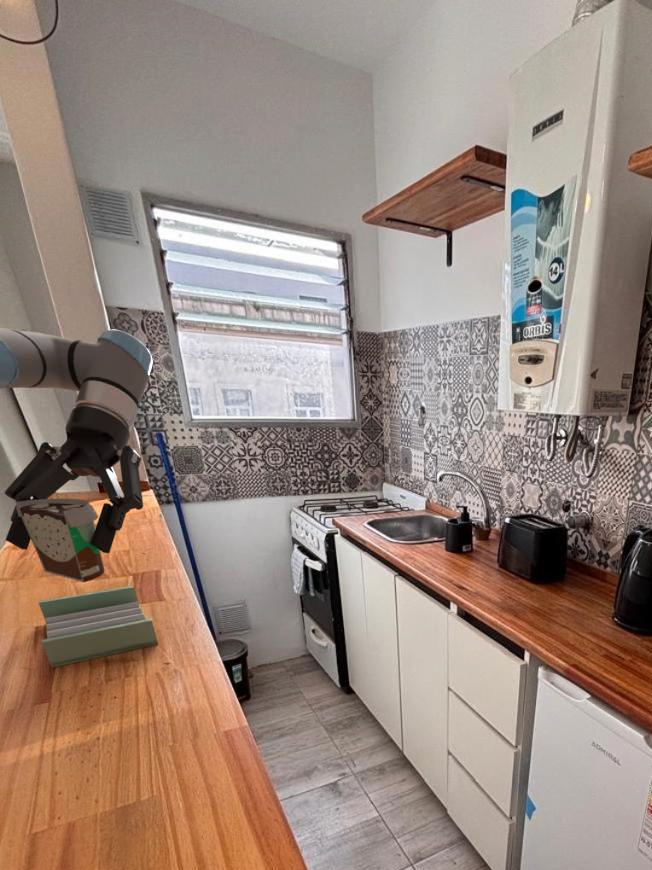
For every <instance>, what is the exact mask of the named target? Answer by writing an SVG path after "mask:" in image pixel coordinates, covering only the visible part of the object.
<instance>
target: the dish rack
mask: <svg viewBox="0 0 652 870" xmlns="http://www.w3.org/2000/svg"><path fill="white" fill-rule="evenodd" d="M138 598H139V597H138V595H137V591H136V588H135V586H134V585H129V586H122V587H115V588H111V589H104V590H98V591H92V592H86V593H85V592H84V593H79V594H73V595H67V596H61V597H54V598H49V599H43V600H38V605H39V609H40V611H41V613H42V616H43V618H44V621H45V628H46V630H45V631H46V638H45V639H41V644H42V647H43V649H44V651H45V654H46V657H47V659H48V662H49V665H50V667H51V668H52V669H54V668H58V667H59V668H60V667H63V666H67V665H72V664H76V663H80V662H85V661H90V660H95V659H98V658H102V657H107V656H111V655H112V656H113V655H116V654H121V653H125V652H130V651H134V650H139V649H143V648H148V647H152V646H156V645H159V641H158V637H157V634H156V629H155V627H154V621H153V619H152V618H147V617H146V615H145V613H144V611H143V609H142V607H141V605H140V603H139V599H138ZM74 662H75V663H74ZM69 663H70V664H69Z"/></svg>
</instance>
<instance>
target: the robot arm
mask: <svg viewBox="0 0 652 870" xmlns="http://www.w3.org/2000/svg"><path fill="white" fill-rule="evenodd" d="M152 368H153V357H152V354H151V352H150V351H149V348H147V347H146V345H145V344H144V343H143V342H142V341H140V340H139V339H138V338H137V337H135V336H134V335H132V334H130V333H128V332H126V331H124V330H120V329H115V328H113V329H109V330H105V331H103V332H102V333H101V334H100V335H99V336H98V337H97V340H96V342H93V341H89V340H88V341H87V340H80V339H72V338H67V337H62V336H57V335H54V334H48V333H43V332H37V331H35V330H32V329H30V330H29V329H22V328H19V329H18V328H4V327H0V389H20V388H23V389H62V390H68V391H75V392H78V393H77V396H76V398H75V400H74V403H73V409H72V410H71V412H70V415H69V417H68V420H67V422H66V425H65V433H66V440H65V441H64V443H63V444H62V445H61V446H53V445H51V444H50V443H49V442H48V441H44V442H42V443H41V444H40V446H39V449H38V451H37V453H36V455H35V456H34V457H33V458H32V460H30V462H29V463H28V464H27V465H26V466H25V467H24V468H23V470H22V471H21V472H20V473H19V474H18V475H17V477H16V478H15V479H14V480H13V482H11V483H10V485H9V486H8V487H7V488H6V490H5V491H4V494H5V495H6V497H8V498H10V499H11V500H13V501H14V502H22V501H29V500H40V499H50V497H52V495H54V494H55V493H56V492H57V491H59V490H60V489H61V488H62V487H63V486H65V485H66V484H67V483H69V481H75V480H77V479H78V478H79V477H87V476H91V477H94V478H95V477H96V478H99V479H100V482H101V483H102V485H103V487H104V490H105V492H106V494H107V497H108V498H107V500H108V502H110V503H111V504H112V505H111V504H110V503H108V502H107V503H105V502H103V505H102V508H101V511H100V515H99V516H98V519H97V523H96V525H95V532H94V535H93V538H92V541H91V544H92V545H93V546H95V547H96V548H98V549H99V550H100V551H101V553H103V554H110V552H111V549H112V546H113V543H114V540H115V536H116V534H117V531H118V532H119V531H121V529H122V528H123V525H124V522H125V518H126V516H127V514H128V513H129V512H130V511H131V510H134V509H135V510H136V511H140V510H142V509H143V508H144V501H143V494H142V493H143V491H142V486H141V478H140V469H139V468H140V465H141V461H142V457H141V455H139V454H138V453H137V452H136V450H135V449H134V448H133V447H132V446H130V445H128V443H129V441H130V438H131V434H130V433H131V432H132V430H133V427H134V424H135V421H136V418H137V415H138V412H139V409H140V404H141V402H142V399H143V396H144V393H145V390H146V387H147V385H148V383H149V382H150V375H151V372H152ZM118 463H119V464H120V466H119V467H120V473H121V482H122V487H121V486H120V484H119V481H118V476H117V474H116V472H115V470H114V466H115V465H117V464H118ZM65 465H66V467H67V468H68V469H69V470H68V469H66V468H65ZM16 507H17V505H16V504H15V506H14V509H13V511H12V514H11V516H10V522H11V524H10V527H9V529H8V532H7V535H6V537H5V541H6V542H8V543H10V544H11V545H13V546H15V547H17V548H19V549H20V550H25V551H27V550H28V548H29V545H30V543H31V538H30V536H29V534H28V531H27V529H26V527H25V524H24V522H23V520H22V517H19V516H18V512H17V508H16Z"/></svg>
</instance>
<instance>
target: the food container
mask: <svg viewBox="0 0 652 870" xmlns="http://www.w3.org/2000/svg"><path fill="white" fill-rule="evenodd" d="M14 502H15V506H16V505H17V507H16V508H17V512H18V516H19V517H22V520H23V522H24V524H25V527H26V529H27V531H28V534H29V536H30V538H31V540H30V542H31V543H32V545H33V547H34V550H35V552H36V554H37V557H38V559H39V562H40V564H41V566H42V568H43V571H44V573H48V574H50V575H51V574H52V575H55V576H58V577H63V578H66V579H70V580H74V581H77V582H81V583H87V582H90V581H93V580H95V579H97V578H99V577H101V576H102V575H104V574H105V570H106V569H105V566H104V561H103V557H102V551H101V550H99V549H98V548H96V547H95V546H93V545H92V544H91V541H92V538H93V535H94V532H95V529H96V525H95V521H97V520H98V519H99V515H98V513H97V512H96V510H95V508H94V506H93V505H91V504H90V502H89V501H88V500H85V499H82V498H81V499H80V498H47V499H40V500H29V501H22V502H16V501H14Z"/></svg>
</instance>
